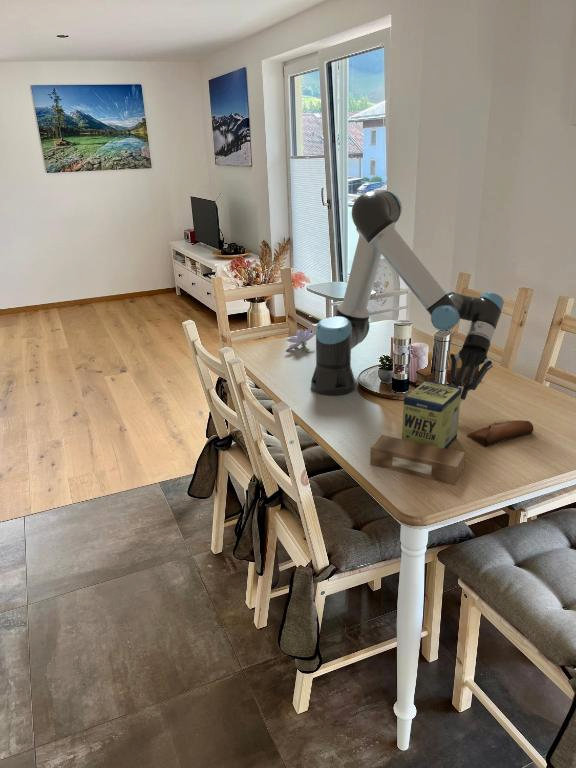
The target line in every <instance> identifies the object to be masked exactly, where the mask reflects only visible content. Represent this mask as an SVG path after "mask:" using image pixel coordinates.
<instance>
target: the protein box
mask: <svg viewBox="0 0 576 768" xmlns="http://www.w3.org/2000/svg"><path fill="white" fill-rule="evenodd" d="M461 390H462V388H460V387H456V386H452V384H448V385H446V384H442V383H437V382H432V381H427V380H426V381H425V382H423V383H422V384H421V385H420V386H417V387H416V388H415V389H414V390H412V391H411V392H410V393H409V394H407V395H406V396H405V397H404V398H403V410H402V411H403V412H402V413H403V414H402V427H401V439H404V440H408V441H413V442H418V443H422V444H427V445H431V446H436V447H441V448H445V449H449V447H450V445H452V443H454V442H455V440H457V437H458V428H459V420H460V419H459V418H460V408H461V407H460V406H461V403H460V400H461ZM461 401H462V400H461Z"/></svg>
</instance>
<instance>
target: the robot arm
mask: <svg viewBox="0 0 576 768" xmlns="http://www.w3.org/2000/svg"><path fill="white" fill-rule="evenodd" d="M402 207H403V206H402V202H401V200H400V199H399V196H398V195H397V194H395V193H394V192H393V191H391V190H389V189H376V190H374V191H369V192H364V193H362V194H361V195H360V196H358V197H357V198H356V199H355V201H354V202H353V205H352V207H351V219H352V222H353V224H354V226H355V227H356V228H355V230H356V232H357V233H358V241H357V244H356V248H355V253H354V255H353V261H352V264H351V269H350V271H349V276H348V280H347V284H346V288H345V293H344V297H343V299H342V301H343V302H341V303H339V304H338V305H337V306H336V311H335V315H334V316H329V317H324V318H323V319H321V320H319V321H318V323H317V324H316V326H315V327H316V330H315V332H316V334H315V354H316V355H315V362H316V364H315V368H314V372H313V374H312V377H311V381H310V385H311V386H310V388H311V389H312V390H313V391H314V392H316V393H317V394H318V393H319V394H321V395H327V396H340V395H346V394H348V393H351V392H353V391H354V390H355V389H356V379H355V375H354V372H353V369H352V365H351V364H352V363H351V359H352V357H351V356H352V349H354V348H355V347H357V346H358V345H359V344H361V343H362V342H363V341H364V340H365V339H366V337H367V336H368V334H369V331H370V320H369V319H370V311H369V309H368V307H369V303H370V299H371V295H372V291H373V287H374V285H375V284H374V283H375V280H376V277H377V272H378V268H379V265H380V262H381V257H382V256H383V258H384V259H385V260H386V261H387V263H388V264H389V265H390V266H391V268H392V269H393V270H394V271H395V272H396V274H397V275H398V277H399V278H401V280H402V282H403V283H404V284H405V285H406V286H407V287H408V289H409V290H410V291H411V293H413V295H414V296H415V298H416V299H417V300H418V301H419V303H420V304H421V305H422V307H423V308H424V309H425V310H426V311H427V313H428V314H429V315H430V322H431V324H432V326H433V327H434V329H436V330H439V331H443V332H447V331H449V330H452V329H453V328H454V327H455V326H457V324H459V321H460V320H465V321H467V322H468V321H470V322H471V323H470V325H469V328H468V331H467V333H466V337H465V340H463V341H464V342H463V345H462V348H461V349H460V350H459V351H458V353H453V354H451V355H450V357H451V360H452V364H451V376H450V382H451V384H450V385H451V386H456V387H460V388H462V390H461V400H460V404H461V403H462V401H464V400H466V398H467V395H468V392H469V391H476V389H477V388H478V386H479V384H481V382H482V380H483V379H484V377H485V375H486V374H487V372H488V371H489V370H490V369H491V368H493V366H494V365H493V362H492V360H489V359H488V352H489V349H490V346H491V343H492V341H493V337H494V334H495V332H496V329H497V327H498V323H499V321H500V318H501V315H502V311H503V307H504V298H503V296H501V295H500V294H498V293H496V292H494V291H488V292H487V291H486V292H483V293H481V295H480V296H479V297H473V296H470V295H466V294H461V293H457V292H454V291H447V290H445V289H443V287H442V286H441V285H440V284H439V282H438V281H437V279H436V278H435V277H434V276H433V275H432V273H431V272H430V271H429V270H428V268H427V267H426V266H425V265H424V263H423V262H422V261H421V260H420V259H419V257H418V255H416V253H415V252H414V251H413V249H411V247H410V246H409V244H408V243H406V241H405V240H404V239H403V237H402V236H401V235H400V233H399V232H398V231H397V230H396V228H395V226H396V224H397V222H398V221H399V219H400V217H401V214H402V211H403V210H402ZM454 354H455V355H454ZM459 358H460V359H461V361H462V366H461V369H460V372H459V375H458V377H457V380H456V373H457V362H458V360H459ZM482 364H483V365H482ZM481 365H482V366H481ZM478 366H479V367H480V366H481V368H479V372H478V374H477V375H476V377H475V378H474V379H473V377H474V374H475V371H476V369H477V367H478ZM468 367H470V369H469V372H468V375H467V378H466V380H465V381H464V384H463V380H464V377H465V374H466V371H467V370H468ZM462 385H463V386H462Z"/></svg>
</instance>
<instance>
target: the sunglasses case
mask: <svg viewBox="0 0 576 768" xmlns="http://www.w3.org/2000/svg"><path fill="white" fill-rule="evenodd" d="M533 432H534V425H533V423H532V422H531V421H529V420H518V419H517V420H507V421H502V422H501V421H500V422H495V423H492V424H489V426H486V427H483V428H480V429H478V430H474V431H472V432H469V433H468V434H467V435H466V437H467V438H469V439H471V440H472V441H475V442H476V443H478V444H479V445H481V446H483V447H484V448H486V447H490V446H493V445H495V444H498V443H500V442H501V443H502V442H503V441H505V440H509V439H510V440H511V439H512V438H516V437H519V436H523V435H525V434H529V433H533Z"/></svg>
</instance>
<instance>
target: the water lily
mask: <svg viewBox="0 0 576 768" xmlns="http://www.w3.org/2000/svg"><path fill="white" fill-rule="evenodd" d="M313 328H314V327H313V325H311V326H310V327H308V329H307V328H305V329H303V328H301V329H296V330H295V335H294V336H293V335H290V336H289V338H288V339H286V341H287V342H289V343H292V344H289V346H288V348H287V349H286V350H285V352H287V351H291V350H292V351H293V350H294V349H296V348H298V347H300V346H301V347H304V349H305V351H306V353H307V354H308V353H309V350H308V348H307V347H306V345H307V341H310V340H311V339H312V338H314V337H315V336H316V331H313V332H312V330H313Z"/></svg>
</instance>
